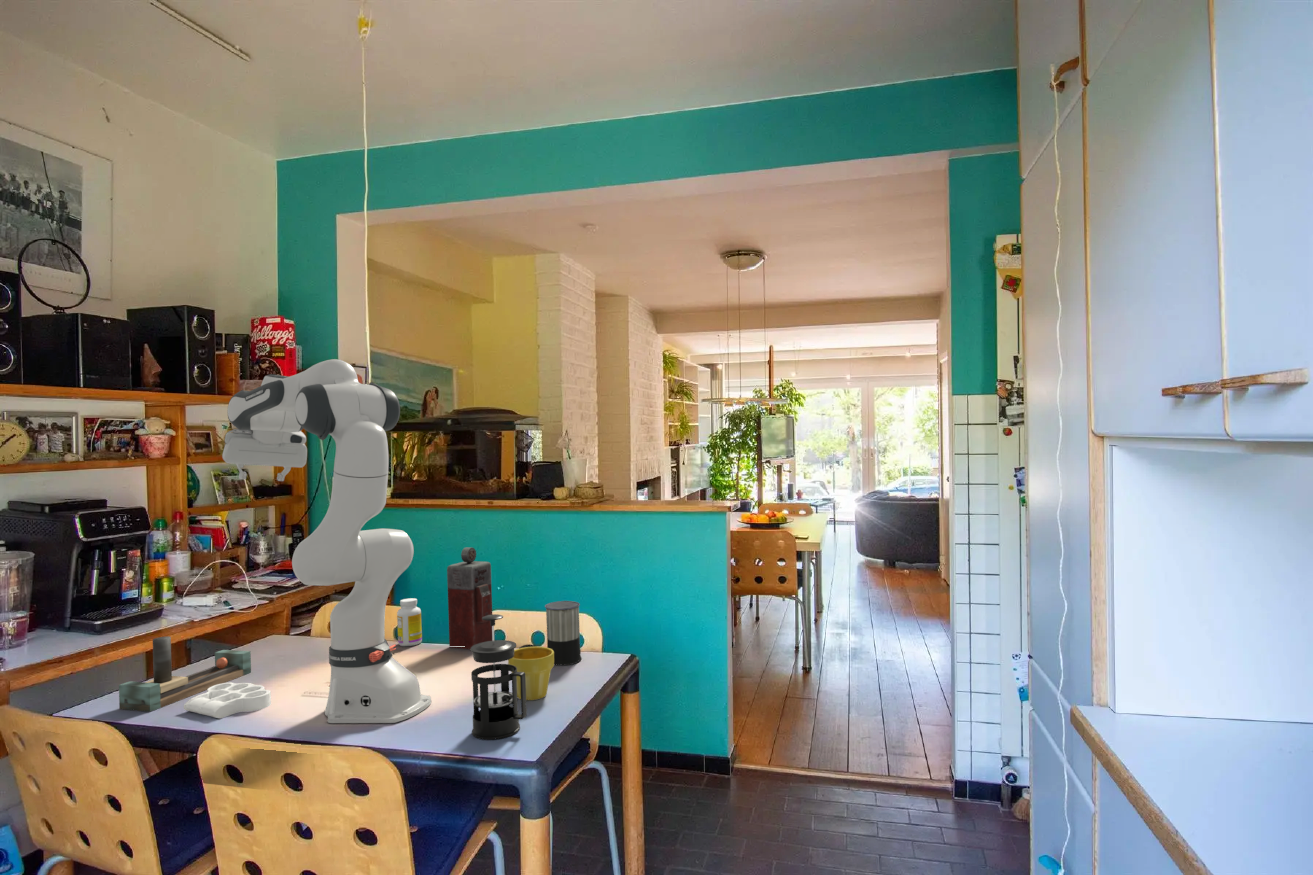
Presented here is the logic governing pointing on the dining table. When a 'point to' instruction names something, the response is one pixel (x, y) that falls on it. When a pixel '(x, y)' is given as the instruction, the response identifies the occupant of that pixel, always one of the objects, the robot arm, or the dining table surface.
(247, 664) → the rail track
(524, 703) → the french press
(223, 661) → the button
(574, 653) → the milk frother
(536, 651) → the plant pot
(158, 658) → the cylinder
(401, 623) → the supplement bottle
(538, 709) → the dining table surface
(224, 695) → the white paint palette
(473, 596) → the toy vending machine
